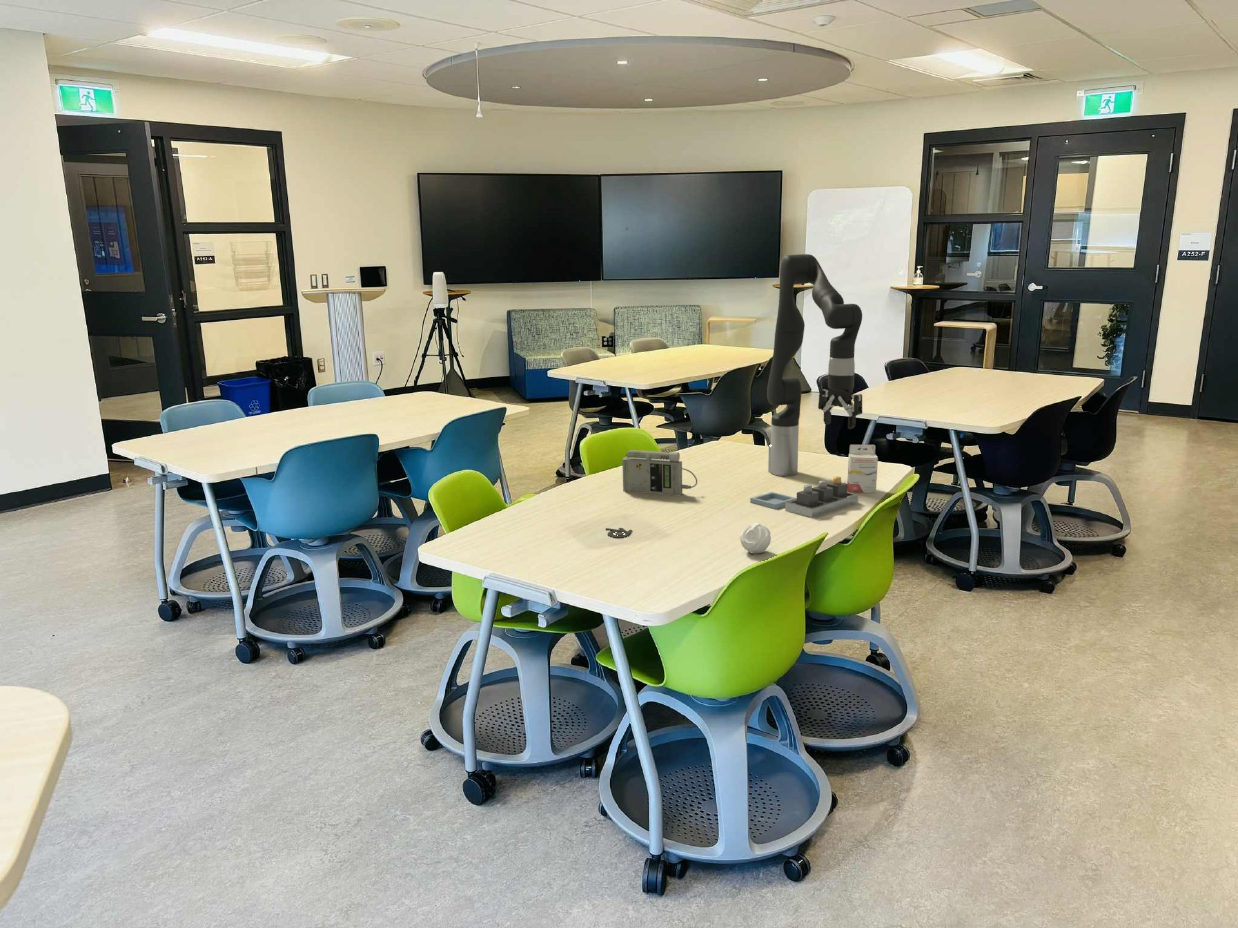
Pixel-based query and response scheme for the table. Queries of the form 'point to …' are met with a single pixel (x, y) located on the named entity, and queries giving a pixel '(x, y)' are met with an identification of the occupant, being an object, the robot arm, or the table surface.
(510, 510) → the table surface
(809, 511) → the strip
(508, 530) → the table surface
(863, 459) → the ink cartridge box
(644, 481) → the geiger counter
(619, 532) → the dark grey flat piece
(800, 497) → the twin plug
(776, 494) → the tray
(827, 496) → the twin plug
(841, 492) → the plug
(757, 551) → the crumpled white ball
